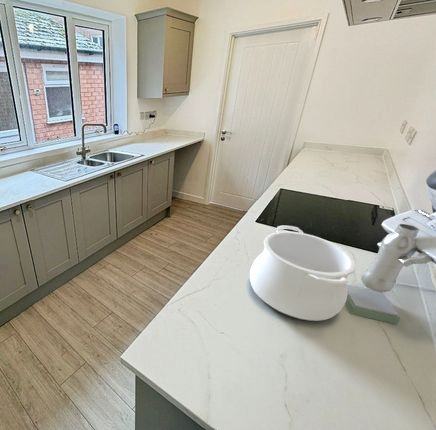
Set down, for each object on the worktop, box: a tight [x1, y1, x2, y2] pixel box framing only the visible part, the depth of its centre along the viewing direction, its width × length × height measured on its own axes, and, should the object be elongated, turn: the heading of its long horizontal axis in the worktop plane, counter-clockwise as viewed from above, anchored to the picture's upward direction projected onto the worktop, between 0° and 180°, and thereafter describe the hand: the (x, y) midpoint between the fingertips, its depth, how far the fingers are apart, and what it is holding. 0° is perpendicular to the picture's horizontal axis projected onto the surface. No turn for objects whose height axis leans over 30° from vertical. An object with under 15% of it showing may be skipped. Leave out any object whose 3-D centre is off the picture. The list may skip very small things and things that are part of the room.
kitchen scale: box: [344, 284, 401, 325], centre depth 77 cm, size 10×10×3 cm
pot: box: [249, 225, 357, 322], centre depth 78 cm, size 28×24×17 cm
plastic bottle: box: [360, 224, 419, 293], centre depth 71 cm, size 6×7×20 cm
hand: (390, 255), depth 70 cm, fingers closed on plastic bottle, 6 cm apart
